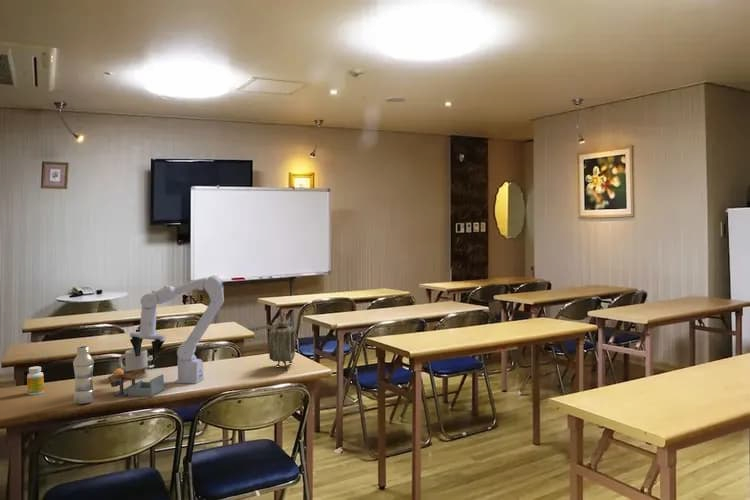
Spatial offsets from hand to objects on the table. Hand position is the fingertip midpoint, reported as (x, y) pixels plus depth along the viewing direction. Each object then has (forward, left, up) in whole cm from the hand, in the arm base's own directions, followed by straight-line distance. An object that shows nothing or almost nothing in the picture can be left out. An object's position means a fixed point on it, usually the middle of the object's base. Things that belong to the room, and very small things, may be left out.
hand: (146, 357), depth 229 cm
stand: (0, +13, -11) cm, 17 cm away
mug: (+11, -9, -11) cm, 18 cm away
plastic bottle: (+8, +27, -11) cm, 30 cm away
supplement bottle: (+35, +17, -11) cm, 41 cm away
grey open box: (-7, +13, -11) cm, 18 cm away
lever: (0, +10, -7) cm, 12 cm away
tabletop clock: (-47, -30, -11) cm, 56 cm away
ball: (+4, +13, -3) cm, 14 cm away
